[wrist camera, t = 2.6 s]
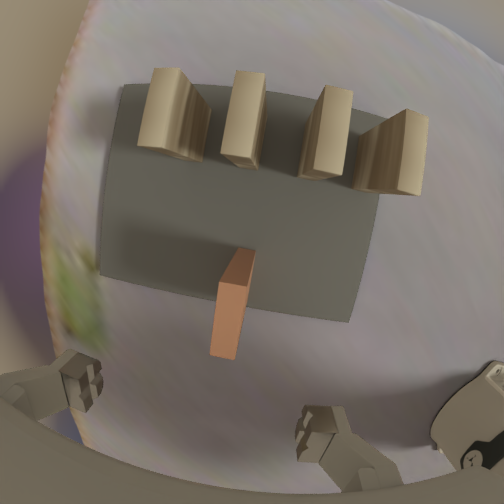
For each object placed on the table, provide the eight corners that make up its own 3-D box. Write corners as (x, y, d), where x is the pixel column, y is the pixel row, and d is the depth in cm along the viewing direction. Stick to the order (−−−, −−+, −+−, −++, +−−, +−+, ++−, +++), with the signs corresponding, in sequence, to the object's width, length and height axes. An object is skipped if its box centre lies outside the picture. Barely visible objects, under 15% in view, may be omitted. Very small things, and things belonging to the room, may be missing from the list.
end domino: (256, 250, 26) (246, 286, 16) (247, 302, 27) (234, 360, 17) (238, 247, 26) (219, 281, 16) (230, 299, 27) (209, 355, 17)
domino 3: (323, 127, 23) (353, 91, 14) (314, 181, 24) (342, 175, 15) (305, 123, 23) (325, 84, 14) (296, 177, 24) (313, 168, 15)
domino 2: (267, 116, 23) (264, 73, 14) (258, 170, 25) (249, 157, 15) (249, 114, 24) (236, 70, 14) (239, 167, 25) (220, 153, 15)
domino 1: (212, 109, 24) (179, 67, 14) (202, 162, 25) (161, 147, 15) (195, 108, 24) (154, 68, 14) (185, 160, 25) (137, 145, 15)
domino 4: (375, 140, 23) (428, 117, 13) (367, 192, 24) (420, 196, 15) (359, 136, 23) (406, 108, 13) (351, 189, 24) (397, 189, 15)
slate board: (385, 121, 24) (389, 119, 23) (346, 318, 28) (348, 322, 27) (128, 87, 24) (124, 84, 23) (104, 272, 29) (99, 275, 28)
